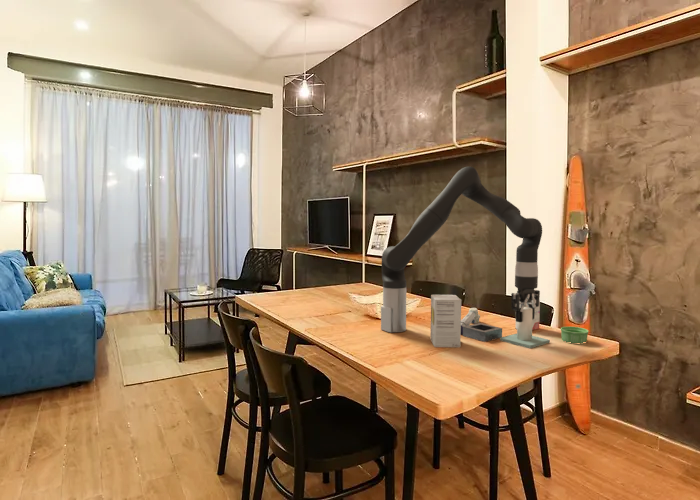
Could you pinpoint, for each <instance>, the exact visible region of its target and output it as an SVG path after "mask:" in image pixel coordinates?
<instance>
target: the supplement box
mask: <svg viewBox="0 0 700 500" xmlns="http://www.w3.org/2000/svg"><path fill="white" fill-rule="evenodd" d="M461 320H462V299H461V298H459V297H458V296H457V295H456V294H431V295H430V342H431V343H432V346H433V347H434V348H461V342H462V341H461V338H462V337H461V335H462V334H461Z"/></svg>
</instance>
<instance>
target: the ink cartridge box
mask: <svg viewBox="0 0 700 500" xmlns="http://www.w3.org/2000/svg"><path fill="white" fill-rule="evenodd" d="M535 301H536V300H535ZM520 303H521V302H520ZM540 305H541V300H540V298H539V306H538V307H536V309H535V313H534V315H535V316H534V319H533V320H532V331H533V330H538V329H540V311H541V310H540V309H541V306H540ZM520 307H521V306H520ZM524 307H528V305H527V303H526V306H524ZM515 329H516V330H517V321H516V320H515Z"/></svg>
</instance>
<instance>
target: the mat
mask: <svg viewBox="0 0 700 500" xmlns="http://www.w3.org/2000/svg"><path fill="white" fill-rule="evenodd" d="M499 341H501V342H505V343H509V344H511V345H516V346H520V347H523V348H525V349H526V348H527V349H533V348H536V346H537V347H539V345H540V346H542V345H547V344H549V342H551V341H550V339H547V338H545V337H539V336H536V335H532V340H529V341H524V340H519V339H517V332H516V333H513V334H509V335H505V336H502V337H501V338H499ZM546 343H547V344H546Z"/></svg>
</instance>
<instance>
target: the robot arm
mask: <svg viewBox="0 0 700 500" xmlns="http://www.w3.org/2000/svg"><path fill="white" fill-rule="evenodd" d="M461 195H462V196H464V197H466V198H467V199H468V200H471V201H473V202H474V203H476V204H478V205H480V206H482V207H483V208H484V209H486V210H487V211H489V212H490V213H492V215H494V216H495V217H496V218H498V219H499V220H500V221H501V222H503V224H505V225H506V227H507V228H508V229H509V231H510V232H511V233H512V234H513V235H514V236H516V237H517V238H520V239H522V242H521V244H520V245H518V246H517V247H516V250H515V251H516V252H515V253H516V255H515V256H516V258H515V260H516V261H515V269H514V287H515V288H517V290H516V293H515V292H511V296H510V298H511V299H510V300H511V310H513V311H514V312H515V322H516V321H517V322H522V319H523V312H522V311H523V308H524V306H526V303H527V305H528V308H532V320H533V319H534V316H535V315H534V313H535V309H536V307H538V306H539V299H540V294H541V291H540V290H539V289H538V290H537V288H538V278H539V277H538V276H539V265H538V253H539V252H538V250H539V246H540V243H541V241H542V236H543V225H542V223H541V221H540V220H539V219H537V218H535V217H529V218H528V217H527V218H526V217H525V216H523V215H521V210H520V208H518V207H517V206H515V204H513V203H511V201H509V200H508V199H506V198H504V197H503V196H500V195H497V194H493V193H492V192H490V191H489V190H488V189H487V188H486V187H485V186H484V185H483V184H482V181H481V178H480V175H479V172H478V171H477V169H476V168H475V167H474V166H468V165H467V166H465V167H462V168H460V169H459V170H458V171H457V172H456V173H455V174H454V175H453V177H452V178H451V180H450V181H448V183H447V184H446V186H445V187H444V189H443V190H442V191H441V192H440V193H439V194H438V195H437V196H436V197H435V198H434V200H433V201H432V202H431V203H430V204H429V205H428V206H427V207H426V208H425V209H424V210H423V211H422V212H421V213H420V214H419V216H418V217H416V219H415V220H414V223H413V224H412V226H411V228H410V229H409V231H408V233H407V234H406V236H404V237H403V238H402V239H401V240H400V241H399V242H398V243H397V244H396V245H395V246H394V245H392V246H391V245H390V246H388V247H386V248H385V249H384V251H383V252H382V255H381V279H382V305H381V306H380V330H382V331H385V332H388V333H402V332H405V331H407V279H406V276H405V268H406V266H408V264H409V263H410V262H411V260H412V259H413V258H414V256H415V255H416V254H417V252H419V251H420V248H422V247H423V246H424V245H425V244H426V243H427V242H428V241H429V240H430V239H431V238H432V237H433V236H434V235H435V234H436V233H437V232H438V231H439V230H440V229H441V227H443V226H444V224H445V223H446V222H447V220H448V218H449V216H450V214H451V212H452V210H453V208H454V206H455V203H456V202H457V200H458V199H459V198H460V196H461ZM535 300H536V301H535ZM520 302H521V303H520ZM520 306H521V307H520Z"/></svg>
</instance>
